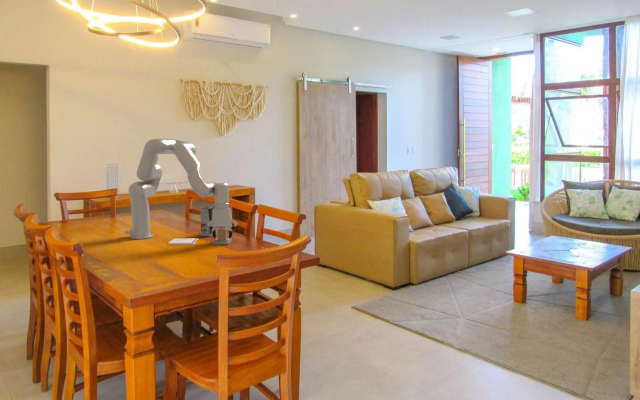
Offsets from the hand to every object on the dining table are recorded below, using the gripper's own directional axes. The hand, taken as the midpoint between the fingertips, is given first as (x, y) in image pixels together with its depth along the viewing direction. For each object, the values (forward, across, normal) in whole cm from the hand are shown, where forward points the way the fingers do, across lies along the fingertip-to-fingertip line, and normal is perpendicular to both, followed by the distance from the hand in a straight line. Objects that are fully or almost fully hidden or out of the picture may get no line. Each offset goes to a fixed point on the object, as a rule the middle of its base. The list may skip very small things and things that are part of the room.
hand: (222, 237), depth 266 cm
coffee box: (+3, -11, +20) cm, 23 cm away
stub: (+2, 0, 0) cm, 2 cm away
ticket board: (+2, -21, 0) cm, 21 cm away
